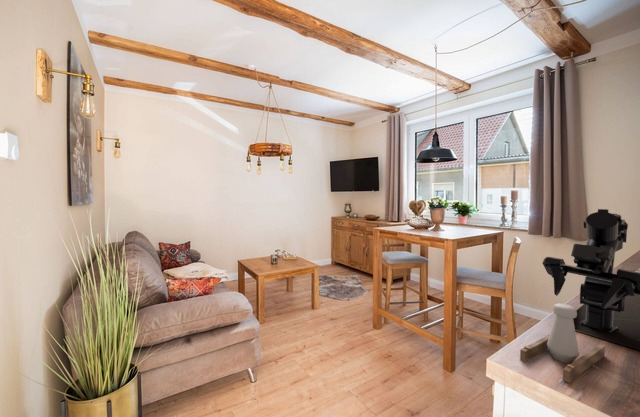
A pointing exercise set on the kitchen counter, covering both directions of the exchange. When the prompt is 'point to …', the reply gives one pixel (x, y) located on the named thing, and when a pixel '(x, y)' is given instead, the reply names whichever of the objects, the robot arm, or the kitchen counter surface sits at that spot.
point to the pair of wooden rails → (571, 369)
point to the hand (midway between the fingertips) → (578, 300)
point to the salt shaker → (563, 334)
